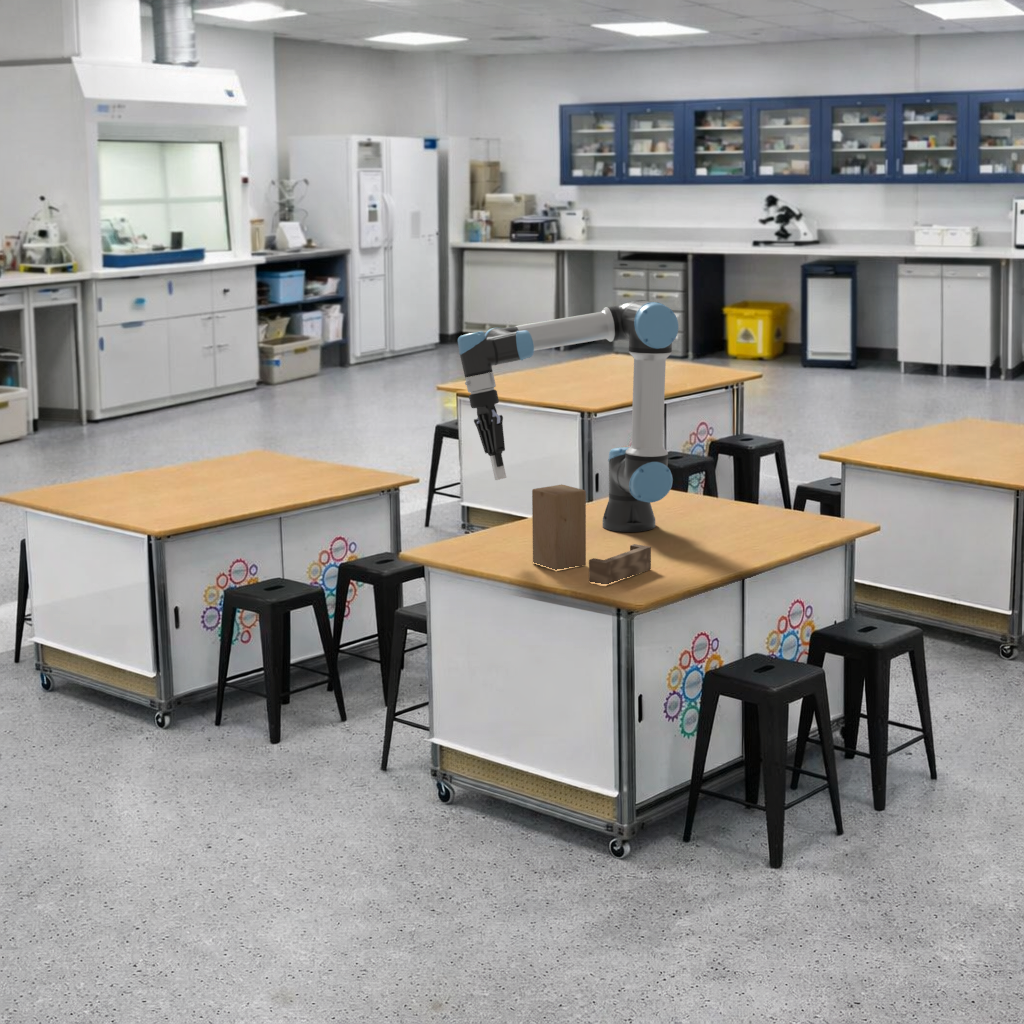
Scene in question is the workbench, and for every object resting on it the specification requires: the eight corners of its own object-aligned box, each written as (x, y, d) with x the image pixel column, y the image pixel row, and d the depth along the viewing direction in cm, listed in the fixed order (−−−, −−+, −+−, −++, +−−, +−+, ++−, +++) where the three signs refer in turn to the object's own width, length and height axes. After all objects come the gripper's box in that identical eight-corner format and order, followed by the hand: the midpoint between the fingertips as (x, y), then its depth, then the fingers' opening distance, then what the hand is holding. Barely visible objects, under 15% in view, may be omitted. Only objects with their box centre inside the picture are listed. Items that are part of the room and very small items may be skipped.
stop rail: (634, 566, 369) (634, 544, 368) (650, 569, 366) (651, 546, 364) (589, 583, 354) (589, 559, 352) (605, 586, 350) (605, 562, 349)
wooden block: (555, 572, 364) (555, 495, 360) (532, 564, 372) (531, 488, 368) (586, 566, 370) (586, 489, 366) (562, 558, 378) (562, 483, 374)
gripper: (459, 395, 383) (477, 482, 385) (480, 392, 371) (499, 481, 374) (484, 390, 386) (502, 476, 389) (505, 386, 374) (524, 475, 377)
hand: (500, 478), depth 381 cm, fingers closed
